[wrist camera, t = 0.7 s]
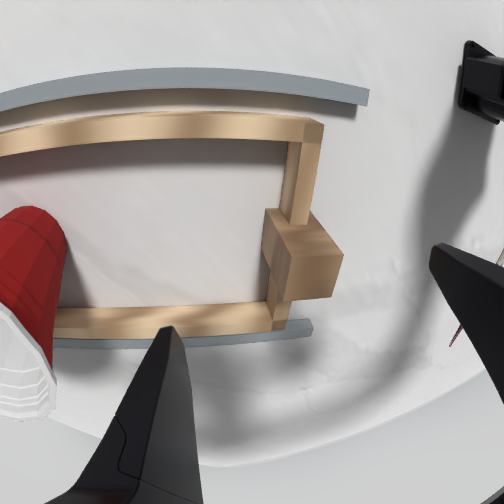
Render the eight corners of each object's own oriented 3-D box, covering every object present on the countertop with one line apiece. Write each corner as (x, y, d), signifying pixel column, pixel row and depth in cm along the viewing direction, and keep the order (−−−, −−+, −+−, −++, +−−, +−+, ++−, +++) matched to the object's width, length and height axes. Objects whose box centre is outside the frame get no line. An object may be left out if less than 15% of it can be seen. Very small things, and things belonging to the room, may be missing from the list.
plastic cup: (71, 148, 16) (-33, 252, 7) (116, 282, 23) (95, 424, 13) (-38, 191, 15) (-129, 290, 5) (14, 300, 21) (-29, 414, 12)
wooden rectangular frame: (323, 119, 19) (370, 142, 14) (288, 309, 28) (309, 361, 23) (-57, 148, 13) (-105, 179, 8) (-3, 315, 22) (-24, 362, 17)
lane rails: (360, 87, 18) (369, 89, 17) (306, 327, 30) (310, 336, 29) (-70, 119, 11) (-79, 123, 10) (-3, 333, 23) (-6, 342, 22)
